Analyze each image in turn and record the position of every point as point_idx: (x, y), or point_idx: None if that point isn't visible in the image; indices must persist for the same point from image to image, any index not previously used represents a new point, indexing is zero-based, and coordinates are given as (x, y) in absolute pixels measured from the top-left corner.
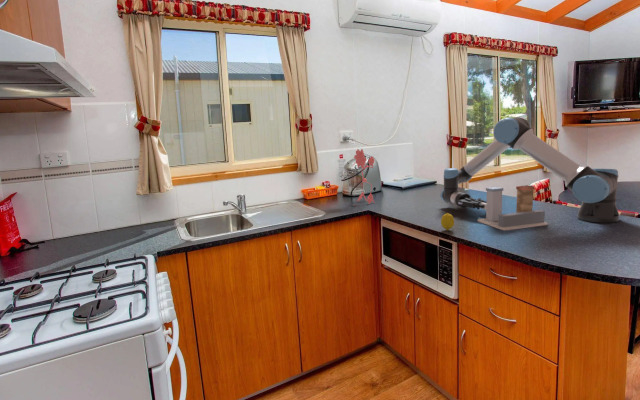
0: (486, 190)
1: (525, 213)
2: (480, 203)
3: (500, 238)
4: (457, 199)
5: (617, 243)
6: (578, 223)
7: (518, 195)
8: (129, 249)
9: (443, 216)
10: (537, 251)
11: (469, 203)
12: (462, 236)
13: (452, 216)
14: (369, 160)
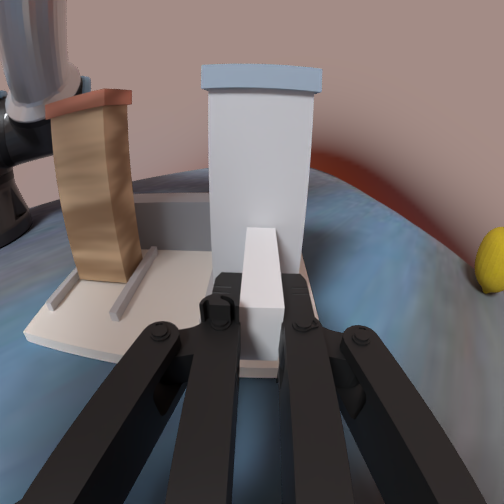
0: (319, 91)
1: (184, 193)
2: (283, 313)
3: (346, 218)
4: None
5: (168, 179)
6: (52, 229)
7: (111, 143)
8: None
9: None
10: (317, 185)
11: (407, 398)
12: (439, 248)
13: (489, 232)
14: None
